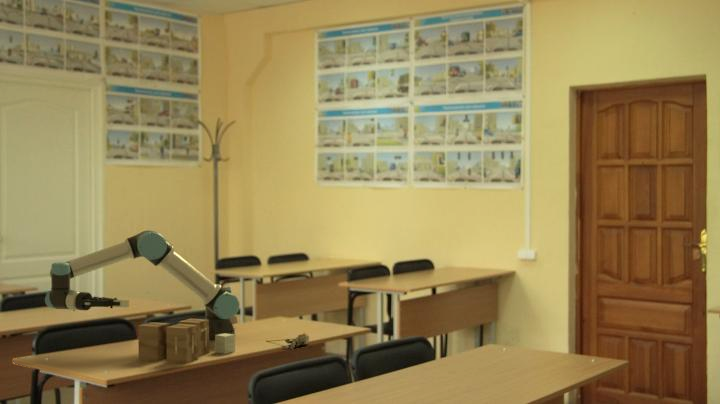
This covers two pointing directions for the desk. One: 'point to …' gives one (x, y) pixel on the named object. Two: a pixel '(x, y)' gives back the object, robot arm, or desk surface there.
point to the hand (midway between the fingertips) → (127, 303)
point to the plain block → (152, 341)
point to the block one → (182, 343)
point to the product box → (224, 343)
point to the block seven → (200, 334)
